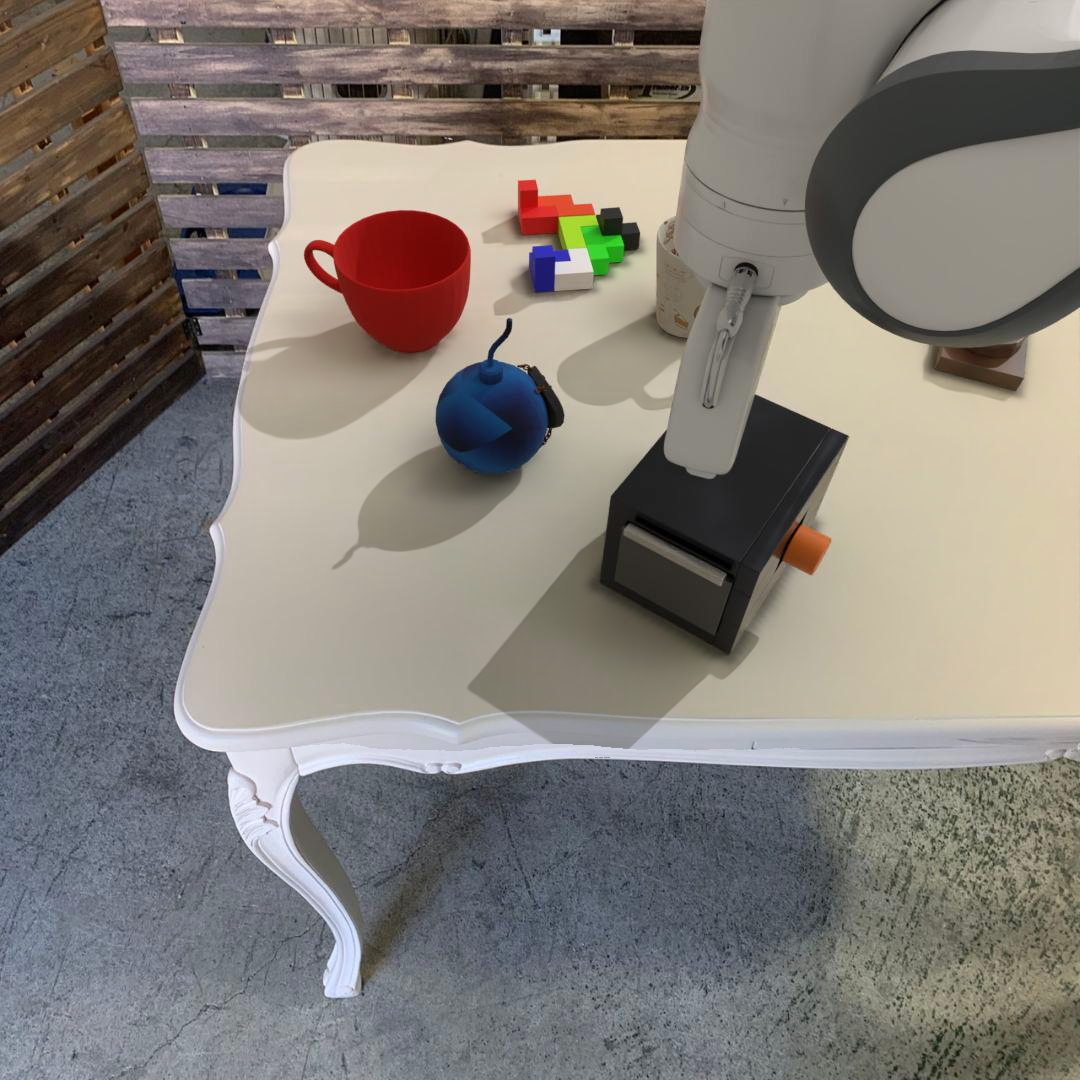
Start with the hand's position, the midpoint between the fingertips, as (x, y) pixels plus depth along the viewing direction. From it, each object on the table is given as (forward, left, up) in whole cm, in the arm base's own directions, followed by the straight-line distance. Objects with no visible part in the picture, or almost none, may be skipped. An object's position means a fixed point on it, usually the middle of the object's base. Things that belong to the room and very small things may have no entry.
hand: (719, 415), depth 56 cm
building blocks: (+24, -43, -22) cm, 53 cm away
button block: (-20, -43, -21) cm, 52 cm away
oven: (-1, -6, -21) cm, 22 cm away
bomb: (+20, -10, -22) cm, 31 cm away
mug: (+8, -34, -22) cm, 41 cm away
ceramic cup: (+37, -22, -22) cm, 48 cm away
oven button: (-8, -5, -17) cm, 20 cm away
